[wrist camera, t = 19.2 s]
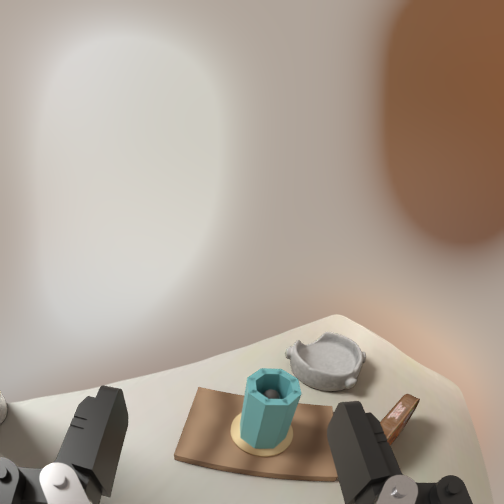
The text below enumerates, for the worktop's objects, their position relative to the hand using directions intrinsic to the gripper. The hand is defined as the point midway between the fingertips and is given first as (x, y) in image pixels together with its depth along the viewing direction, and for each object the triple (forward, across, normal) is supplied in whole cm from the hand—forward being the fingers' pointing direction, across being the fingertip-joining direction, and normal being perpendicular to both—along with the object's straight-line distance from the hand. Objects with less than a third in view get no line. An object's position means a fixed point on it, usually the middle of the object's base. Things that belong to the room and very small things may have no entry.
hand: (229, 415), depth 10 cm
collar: (+19, -7, +28) cm, 35 cm away
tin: (+16, -26, +30) cm, 43 cm away
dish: (+35, -21, +30) cm, 51 cm away
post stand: (+19, -7, +30) cm, 36 cm away
